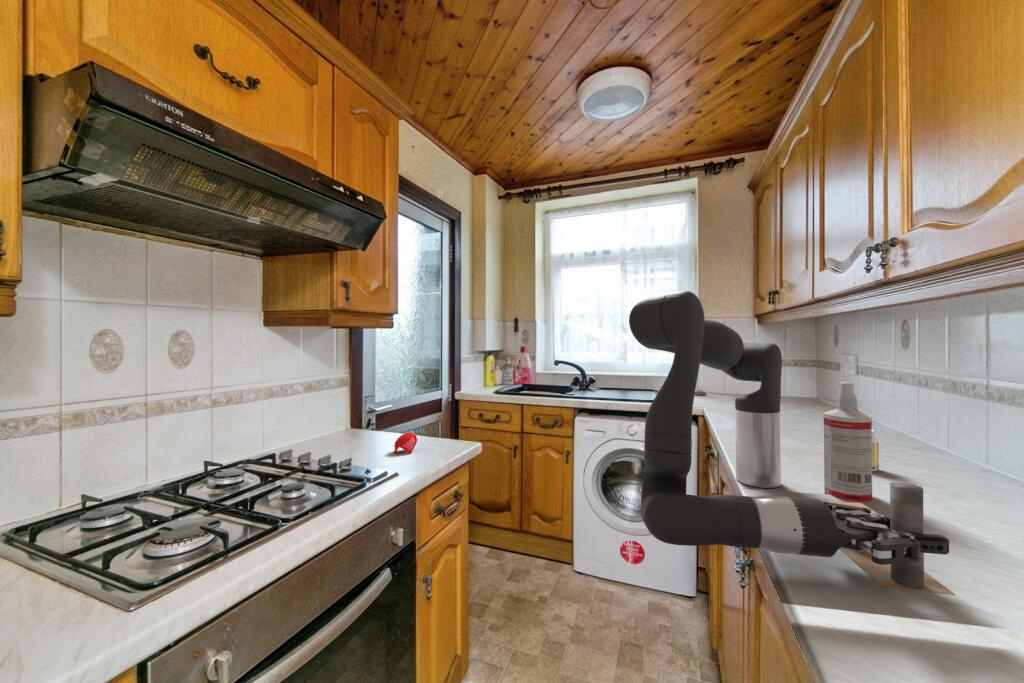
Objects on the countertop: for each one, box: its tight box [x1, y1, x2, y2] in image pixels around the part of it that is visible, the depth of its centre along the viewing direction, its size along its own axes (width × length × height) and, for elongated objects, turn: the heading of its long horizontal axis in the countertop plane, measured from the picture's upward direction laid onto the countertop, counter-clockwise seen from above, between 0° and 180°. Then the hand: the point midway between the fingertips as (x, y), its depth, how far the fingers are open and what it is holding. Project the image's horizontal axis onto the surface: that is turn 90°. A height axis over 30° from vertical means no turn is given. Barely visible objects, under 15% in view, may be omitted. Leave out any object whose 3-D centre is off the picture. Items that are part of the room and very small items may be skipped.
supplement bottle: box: [872, 429, 880, 472], centre depth 104 cm, size 6×6×10 cm
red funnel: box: [393, 431, 418, 454], centre depth 127 cm, size 8×6×6 cm
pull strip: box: [839, 481, 956, 596], centre depth 63 cm, size 22×8×14 cm, turn 167°
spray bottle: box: [823, 381, 873, 502], centre depth 84 cm, size 8×8×25 cm
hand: (930, 535), depth 54 cm, fingers open, 4 cm apart
